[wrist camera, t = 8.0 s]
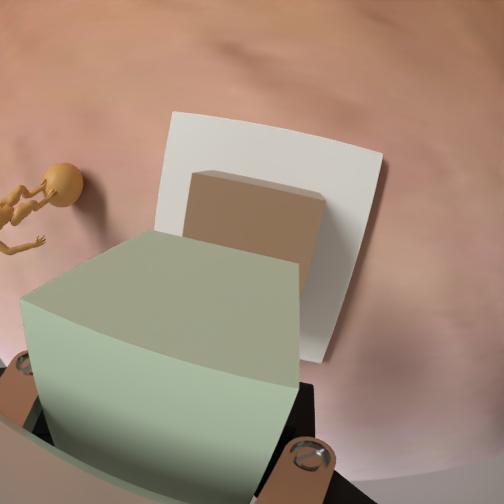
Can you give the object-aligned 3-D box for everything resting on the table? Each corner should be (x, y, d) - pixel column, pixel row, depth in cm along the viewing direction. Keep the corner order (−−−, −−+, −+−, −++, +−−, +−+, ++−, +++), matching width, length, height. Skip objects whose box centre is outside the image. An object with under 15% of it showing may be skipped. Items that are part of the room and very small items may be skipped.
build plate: (178, 113, 24) (144, 101, 18) (379, 154, 23) (405, 152, 17) (151, 314, 29) (121, 348, 23) (320, 356, 28) (324, 400, 22)
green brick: (149, 229, 10) (19, 298, 5) (298, 263, 10) (299, 388, 4) (140, 403, 13) (79, 502, 7) (249, 434, 12) (223, 553, 7)
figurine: (113, 196, 26) (15, 224, 15) (82, 242, 28) (-8, 287, 17) (62, 139, 25) (-37, 143, 14) (35, 186, 27) (-56, 208, 16)
